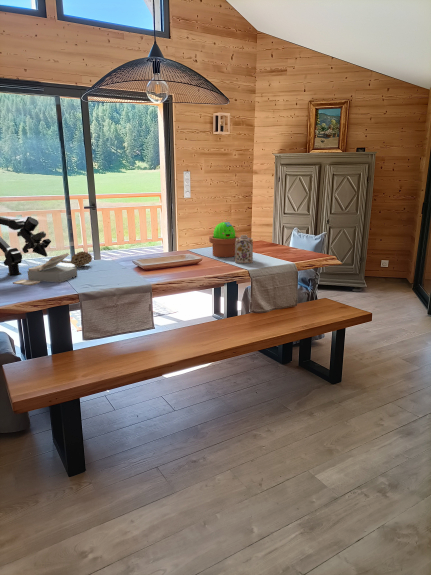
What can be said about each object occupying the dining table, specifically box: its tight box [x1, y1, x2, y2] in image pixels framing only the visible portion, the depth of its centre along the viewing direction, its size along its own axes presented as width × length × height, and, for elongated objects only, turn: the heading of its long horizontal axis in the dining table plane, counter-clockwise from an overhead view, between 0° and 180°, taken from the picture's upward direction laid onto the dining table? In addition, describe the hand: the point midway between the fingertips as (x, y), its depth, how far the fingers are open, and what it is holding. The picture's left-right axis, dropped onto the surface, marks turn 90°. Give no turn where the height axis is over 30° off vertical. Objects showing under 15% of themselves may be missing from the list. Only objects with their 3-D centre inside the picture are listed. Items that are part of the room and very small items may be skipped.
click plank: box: [38, 252, 70, 271], centre depth 241 cm, size 13×14×1 cm
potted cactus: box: [208, 221, 241, 258], centre depth 303 cm, size 22×22×25 cm
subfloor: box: [27, 263, 78, 283], centre depth 243 cm, size 22×16×6 cm
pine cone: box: [60, 251, 93, 268], centre depth 270 cm, size 22×10×10 cm, turn 111°
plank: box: [12, 278, 42, 286], centre depth 233 cm, size 13×7×1 cm, turn 71°
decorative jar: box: [234, 234, 254, 264], centre depth 283 cm, size 12×12×18 cm
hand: (46, 256), depth 241 cm, fingers closed
